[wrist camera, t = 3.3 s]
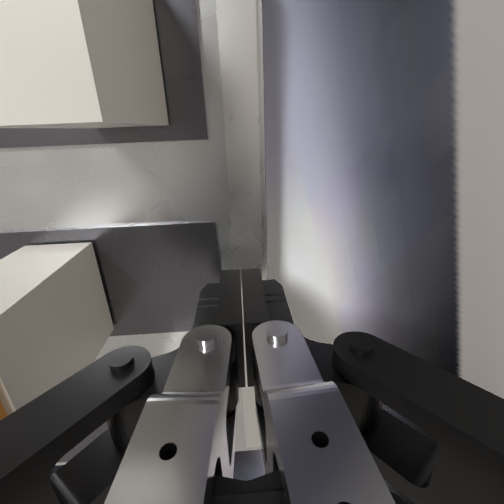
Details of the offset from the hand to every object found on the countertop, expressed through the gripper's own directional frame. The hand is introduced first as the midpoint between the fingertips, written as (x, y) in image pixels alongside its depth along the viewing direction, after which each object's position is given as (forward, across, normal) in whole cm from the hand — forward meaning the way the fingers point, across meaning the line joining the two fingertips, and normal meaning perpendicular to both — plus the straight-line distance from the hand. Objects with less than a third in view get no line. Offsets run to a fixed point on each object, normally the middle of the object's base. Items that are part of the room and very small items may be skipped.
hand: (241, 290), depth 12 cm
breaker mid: (+1, +7, 0) cm, 7 cm away
